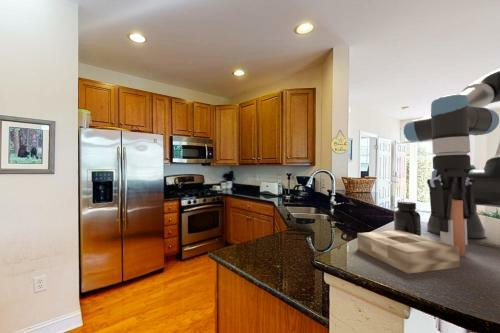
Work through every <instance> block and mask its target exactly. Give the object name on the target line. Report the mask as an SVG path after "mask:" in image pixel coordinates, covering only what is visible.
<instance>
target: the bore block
mask: <svg viewBox="0 0 500 333" xmlns="http://www.w3.org/2000/svg"><path fill="white" fill-rule="evenodd" d="M356 235H357V236H356V238H357V240H356V241H357V250H358V251H360V252H362V253H364V254H366V255H369V256H371V257H372V258H374V259H377V260H379V261H381V262H383V263H385V264H387V265H390V266H391V267H394V268H396V269H398V270H400V271H402V272H404V273H406V274H408V275H409V274H416V273H425V272H433V271H439V270H448V269H459V268H460V267H461V265H460V264H461V263H460V262H461V260H460V256H459V247H457V246H454V245H450V244H446V243H443V242H441V241H440V240H435V239H431V238H429V237H426V236H422V235H421V236H418V235H415V234H411V233H408V232H404V231H401V230H384V231H383V230H381V231H369V232H357V233H356Z"/></svg>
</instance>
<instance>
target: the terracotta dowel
mask: <svg viewBox="0 0 500 333" xmlns="http://www.w3.org/2000/svg"><path fill="white" fill-rule="evenodd" d="M449 220H453V238H454V246H457V247H459V257H464V256H466V254H465V253H466V252H465V249H466V248H465V245H464V221H463V200H454V199H452V205H451V213H450V219H449Z"/></svg>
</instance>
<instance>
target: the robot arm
mask: <svg viewBox="0 0 500 333" xmlns="http://www.w3.org/2000/svg"><path fill="white" fill-rule="evenodd" d="M498 102H500V68H499V69H495V70H494V71H492V72H489V73H488V74H486V75H484V76H482V77H481V78H479V79H477V80H475V81H474V82H472V83H471V84H469V85H467V86H465V88H463V90H462V91H461V93H457V94H449V95H445V96H440V97H438V98H437V97H436V99H434V100H432V102H431V105H430V112H429V113H428V114H426V115H425V116H423V117H421V118H419V119H414V120H410V121H408V122H406V123H405V125H404V127H403V135H404V137H405V139H406V140H407V141H408V142H411V143H415V142H419V143H421V142H427V141H432V142H431V143H432V154H433V155H435V156H433V157H432V169H433V171H432V172H431V179H430V178H428V179H427V180H426V183H427V186H428V189H429V190H428V191H429V200H430V202H429V203H430V216H429V217H428V221H427V222H426V223H427V224H426V225H427V226H426V229H427V231H429V232H430V233H434V234H437V235H440V236H439V238H440V240H439V241H440V242H443V243H446V244H450V245H454V238H453V220H449V219H450V213H451V205H452V199H454V200H463V221H464V246H467V245H468V239H483V238H485V237H486V229H485V228H484V225H483V223H482V220H481V219H480V216H479V214H478V210H477V206H485V207H493V208H500V140H499V142H498V145H497V148H496V152H495V155H494V156H493V157H491V158H489V159H487V160H486V162H485V165H484V168H476V167H475V165H474V164H471V156H470V155H469V154H468V153H471V144H470V136H484V135H487V134H490V133H492V132H494V131H495V130H496V129H497V127H498V126H499V124H500V116H499V114H498V113H497V112H496V111H494V110H493V109H491V108H487V107H486V106H488V105H490V104H494V103H498Z"/></svg>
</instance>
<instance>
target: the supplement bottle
mask: <svg viewBox="0 0 500 333" xmlns="http://www.w3.org/2000/svg"><path fill="white" fill-rule="evenodd" d="M416 209H417V204H416V202H411V201H409V202H408V201H397V206H396V210H395V211H394V212H393V220H394V221H393V225H394V227H393V228H394V230H401V231H404V232H408V233H411V234H415V235H418V236H422V230H421V229H422V228H421V214H420V213H419V212H418V211H416ZM394 230H393V231H394Z"/></svg>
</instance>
